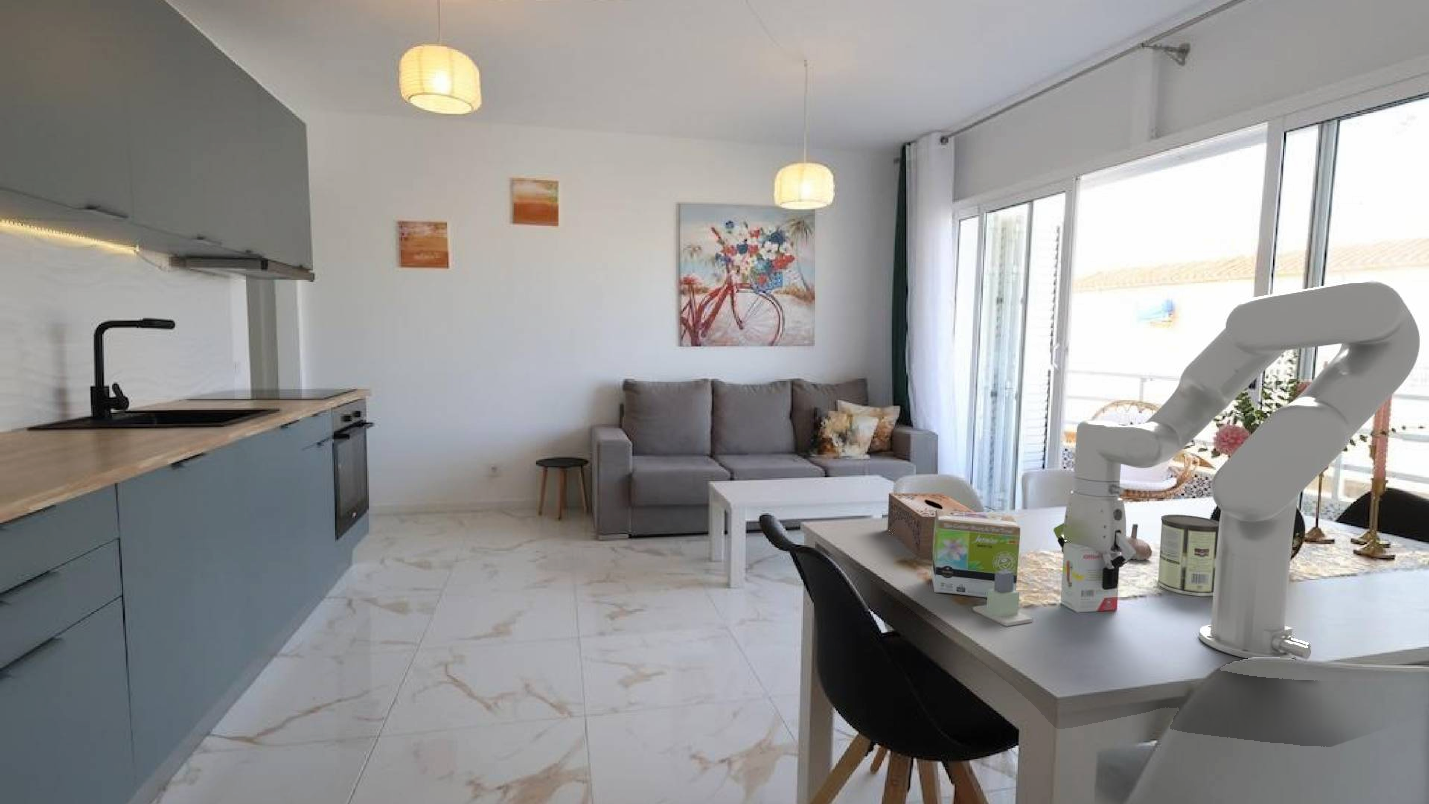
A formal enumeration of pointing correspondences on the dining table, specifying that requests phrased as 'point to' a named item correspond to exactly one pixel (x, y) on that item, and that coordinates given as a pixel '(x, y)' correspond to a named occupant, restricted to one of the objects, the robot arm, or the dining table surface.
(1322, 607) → the dining table surface
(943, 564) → the tea box
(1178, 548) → the coffee can
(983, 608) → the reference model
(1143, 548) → the garlic bulb
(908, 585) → the dining table surface
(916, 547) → the tissue box cover
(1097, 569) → the ink box
